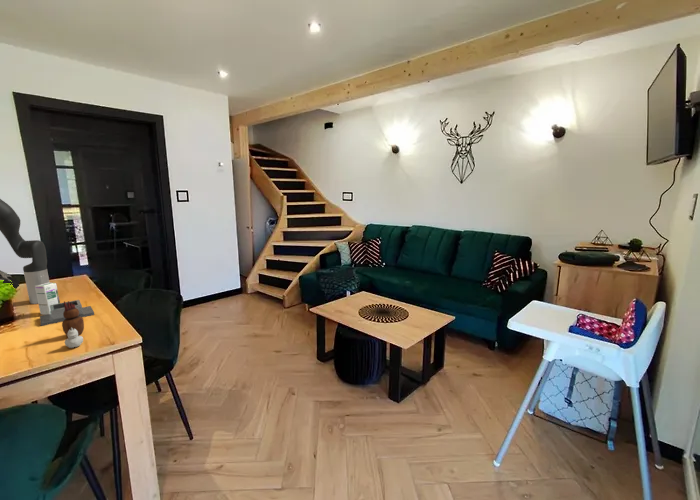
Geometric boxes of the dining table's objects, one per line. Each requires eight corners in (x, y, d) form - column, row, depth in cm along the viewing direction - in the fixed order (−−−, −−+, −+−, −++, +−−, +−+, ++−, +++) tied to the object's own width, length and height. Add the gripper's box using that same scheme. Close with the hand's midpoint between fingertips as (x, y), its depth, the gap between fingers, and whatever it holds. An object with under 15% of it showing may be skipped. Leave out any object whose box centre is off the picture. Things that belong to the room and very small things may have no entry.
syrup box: (49, 315, 162) (44, 285, 159) (39, 314, 163) (34, 285, 161) (61, 311, 168) (56, 282, 165) (52, 310, 169) (47, 282, 166)
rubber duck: (65, 351, 124) (61, 331, 123) (66, 345, 129) (62, 325, 128) (84, 347, 127) (80, 327, 126) (83, 341, 132) (80, 321, 131)
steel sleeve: (40, 318, 158) (38, 306, 157) (90, 308, 171) (89, 297, 170) (40, 326, 149) (38, 313, 148) (94, 314, 161) (92, 303, 160)
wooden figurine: (67, 339, 134) (61, 303, 131) (62, 336, 137) (55, 301, 134) (87, 333, 140) (82, 298, 137) (81, 330, 143) (76, 296, 140)
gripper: (-18, 260, 143) (24, 281, 152) (-15, 256, 153) (25, 275, 163) (-34, 275, 140) (10, 295, 150) (-30, 269, 151) (11, 288, 160)
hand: (18, 285), depth 156 cm, fingers open, 8 cm apart
